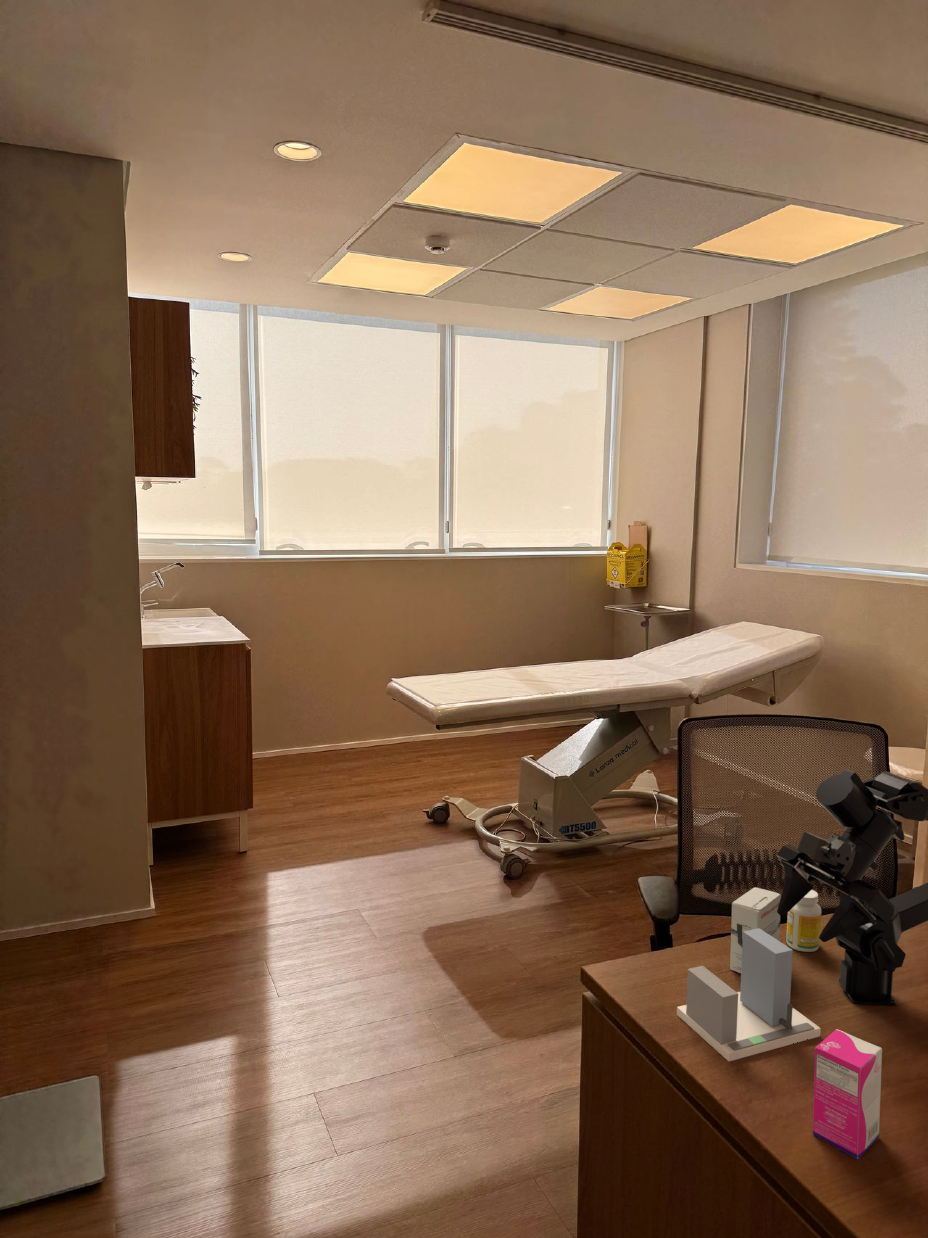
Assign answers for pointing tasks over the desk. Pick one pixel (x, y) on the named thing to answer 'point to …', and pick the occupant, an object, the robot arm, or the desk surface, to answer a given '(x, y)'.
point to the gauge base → (751, 1030)
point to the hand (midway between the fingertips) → (799, 927)
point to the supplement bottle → (804, 924)
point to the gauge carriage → (766, 977)
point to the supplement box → (847, 1092)
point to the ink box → (753, 920)
